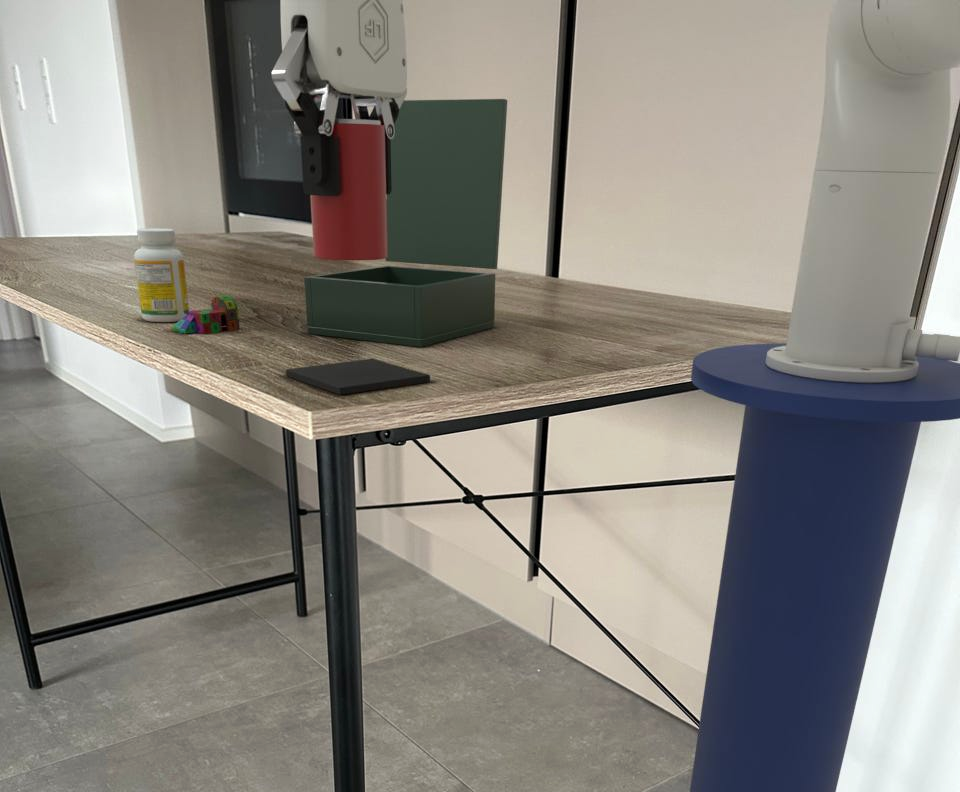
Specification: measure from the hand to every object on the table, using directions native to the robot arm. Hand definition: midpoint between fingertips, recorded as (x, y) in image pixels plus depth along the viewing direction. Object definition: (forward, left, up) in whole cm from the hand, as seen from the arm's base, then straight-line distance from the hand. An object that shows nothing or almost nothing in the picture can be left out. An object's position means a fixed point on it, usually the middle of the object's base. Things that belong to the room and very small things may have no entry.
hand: (349, 192), depth 74 cm
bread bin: (+11, -24, -15) cm, 30 cm away
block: (+29, -12, -15) cm, 35 cm away
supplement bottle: (+38, -15, -15) cm, 43 cm away
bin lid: (+11, -32, 0) cm, 34 cm away
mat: (0, 0, -15) cm, 15 cm away
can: (0, 0, -5) cm, 5 cm away
